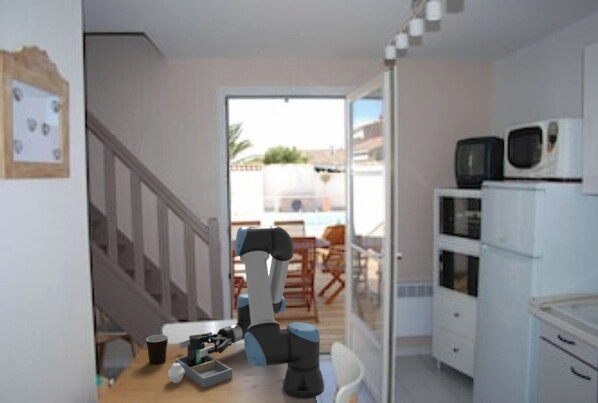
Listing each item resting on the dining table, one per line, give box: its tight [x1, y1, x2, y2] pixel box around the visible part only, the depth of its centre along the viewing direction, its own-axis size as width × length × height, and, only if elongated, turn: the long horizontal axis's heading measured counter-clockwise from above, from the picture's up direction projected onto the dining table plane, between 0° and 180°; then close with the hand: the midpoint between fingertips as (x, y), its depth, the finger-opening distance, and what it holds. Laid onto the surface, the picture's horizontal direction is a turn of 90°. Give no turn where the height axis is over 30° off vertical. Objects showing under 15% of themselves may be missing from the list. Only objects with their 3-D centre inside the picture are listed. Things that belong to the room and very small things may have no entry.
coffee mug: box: [145, 334, 169, 366], centre depth 179 cm, size 12×9×10 cm
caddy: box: [174, 354, 233, 389], centre depth 167 cm, size 23×12×4 cm, turn 41°
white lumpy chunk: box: [167, 362, 185, 384], centre depth 159 cm, size 6×6×7 cm
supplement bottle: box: [186, 334, 206, 367], centre depth 171 cm, size 7×7×12 cm
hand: (189, 349), depth 168 cm, fingers open, 13 cm apart
